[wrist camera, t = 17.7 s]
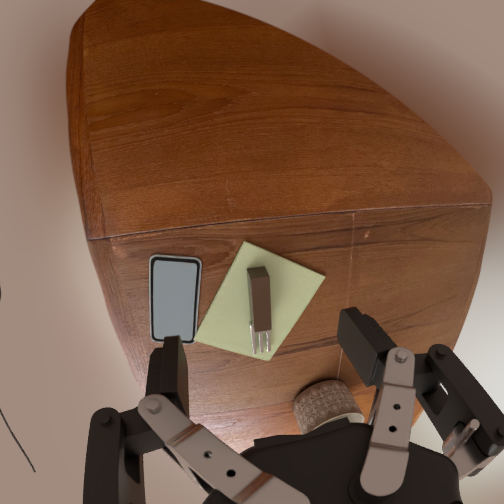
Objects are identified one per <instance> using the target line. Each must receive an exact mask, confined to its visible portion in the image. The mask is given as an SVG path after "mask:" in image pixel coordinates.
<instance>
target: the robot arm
mask: <svg viewBox="0 0 504 504" xmlns="http://www.w3.org/2000/svg"><path fill="white" fill-rule="evenodd" d="M337 337H338V341H339V344H340V346H341V347H342V349H343V350H344V352H345V353H346V355H347V357H348V358H349V360H350V361H351V363H352V364H353V366H354V368H355V369H356V371H357V372H358V374H359V376H360V377H361V379H362V380H363V382H364V383H365V385H366V387H369V386H372V385H375V386H376V387H377V388H376V391H375V395H374V399H373V403H372V407H371V411H370V415H369V418H368V422H367V424H366V423H359V422H351V423H350V421H349V419H348V417H345V418H342V419H339V420H335V421H332V422H328V423H325V424H324V425H322V426H320V427H318V428H316V429H314V430H312V431H310V432H308V433H306V434H303V435H276V436H271V437H266V438H260V439H254V446H253V447H250V448H248V449H246V450H245V451H243V452H242V453H240V454H238V453H237V452H235V451H234V450H233V449H231V448H230V447H229V446H228V445H226V444H225V443H224V442H222V441H221V440H220V439H219V438H217V437H216V436H215V435H214V434H213V433H211V432H210V431H209V430H208V429H207V428H205V427H204V426H203V425H201V424H197V425H196V424H195V423H193V422H192V421H191V420H190V419H189V394H188V366H187V360H186V356H185V352H184V349H183V345H182V341H181V337H180V335H176V336H166V337H164V343H163V347H161V348H155V349H154V351H153V352H152V354H151V355H150V361H149V368H148V376H147V384H146V393H145V397H144V398H143V399H142V400H141V401H140V402H139V405H138V406H137V407H136V408H134V409H131V410H128V411H125V412H121V413H119V412H118V411H117V410H115V409H113V408H102V409H99V410H98V411H96V412H95V413H94V414H93V416H92V418H91V422H90V430H89V436H88V444H87V453H86V463H85V474H84V489H83V504H146V502H145V488H144V470H143V454H144V453H148V452H151V451H154V450H157V449H162V450H163V451H164V452H165V453H166V454H167V455H168V456H169V457H170V458H171V459H172V460H173V461H174V462H175V463H176V464H177V465H178V466H179V467H180V468H181V469H182V470H183V471H184V472H185V473H186V474H187V475H188V477H189V478H190V479H191V480H192V481H193V482H194V483H195V484H196V485H197V486H198V487H199V488H200V489H201V490H203V491H204V492H205V493H206V494H207V495H208V497H207V498H206V500H205V501H204V502H203V504H463V503H462V500H461V497H460V492H459V480H461V479H463V478H464V477H466V476H474V475H476V474H478V473H479V472H480V471H481V470H482V469H483V468H484V467H486V466H487V465H488V464H489V463H490V462H491V461H492V460H493V459H494V458H495V457H496V456H497V455H498V454H499V453H500V452H501V451H502V450H503V449H504V414H503V413H502V412H501V410H500V409H499V408H498V407H497V405H496V404H495V403H494V401H493V400H492V399H491V397H490V396H489V395H488V394H487V392H486V391H485V390H484V389H483V387H482V386H481V385H480V384H479V382H478V381H477V380H476V379H475V377H474V376H473V375H472V374H471V373H470V371H469V370H468V369H467V368H466V367H465V366H464V364H463V363H462V362H461V361H460V359H459V358H458V357H457V356H456V355H455V354H454V353H453V351H452V350H451V349H450V348H449V347H447V346H445V345H442V344H435V345H432V346H431V347H430V348H429V351H428V353H424V354H413V352H412V351H411V350H409V349H407V348H404V347H397V345H396V344H395V343H394V342H393V341H392V340H391V338H390V337H389V336H388V335H387V334H386V332H385V331H383V329H382V328H381V327H380V326H379V324H378V323H377V322H376V321H375V320H374V319H373V318H372V317H370V316H368V315H366V314H363V315H362V313H361V312H360V311H359V310H358V309H357V308H356V307H351V308H347V309H342V310H341V311H340V316H339V324H338V332H337ZM440 383H442V385H443V386H444V388H446V390H447V392H448V395H447V394H446V392H445V391H444V390H443V388H442V387H441V386H440ZM415 396H416V398H417V399H418V401H419V402H420V404H421V406H422V407H423V409H424V410H425V412H426V413H427V415H428V417H429V418H430V420H431V422H432V423H433V425H434V426H435V428H436V430H437V431H438V433H439V435H440V436H441V438H442V440H443V441H444V442H443V446H442V450H443V452H444V453H443V454H441V453H438V452H435V451H433V450H430V449H427V448H425V447H422V446H420V445H417V444H415V443H412V442H410V441H409V439H410V433H411V427H412V420H413V412H414V404H415ZM0 414H1V416H2V418H3V420H4V422H5V424H6V425H7V427H8V429H9V431H10V432H11V434H12V436H13V438H14V439H15V441H16V442H17V444H18V446H19V447H20V448H21V450H22V452H23V453H24V455H25V456H26V458H27V460H28V461H29V463H30V465H31V466H32V468H33V471H34V472H36V471H35V469H34V467H33V465H32V464H31V462H30V460H29V458H28V457H27V455H26V454H25V452H24V450H23V449H22V447H21V446H20V444H19V442H18V441H17V439H16V437H15V436H14V434H13V432H12V431H11V429H10V427H9V425H8V423H7V421H6V419H5V417H4V415H3V413H2V411H1V409H0Z"/></svg>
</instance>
